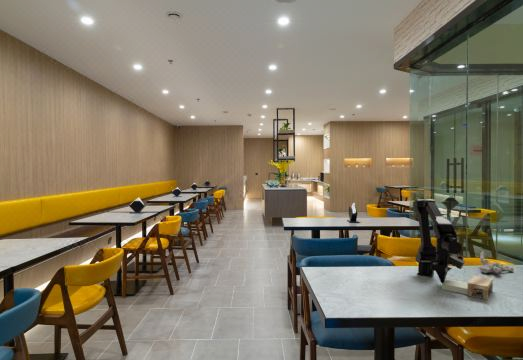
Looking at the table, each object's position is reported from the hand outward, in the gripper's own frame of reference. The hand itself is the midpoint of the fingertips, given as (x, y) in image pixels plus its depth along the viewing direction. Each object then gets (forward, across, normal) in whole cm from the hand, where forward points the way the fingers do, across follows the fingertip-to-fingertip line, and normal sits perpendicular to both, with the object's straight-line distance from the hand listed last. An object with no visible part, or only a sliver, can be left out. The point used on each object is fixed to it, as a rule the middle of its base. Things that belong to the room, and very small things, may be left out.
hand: (442, 282), depth 152 cm
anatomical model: (+2, +49, -12) cm, 50 cm away
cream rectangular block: (+2, 0, -7) cm, 8 cm away
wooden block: (+1, 0, -15) cm, 15 cm away
